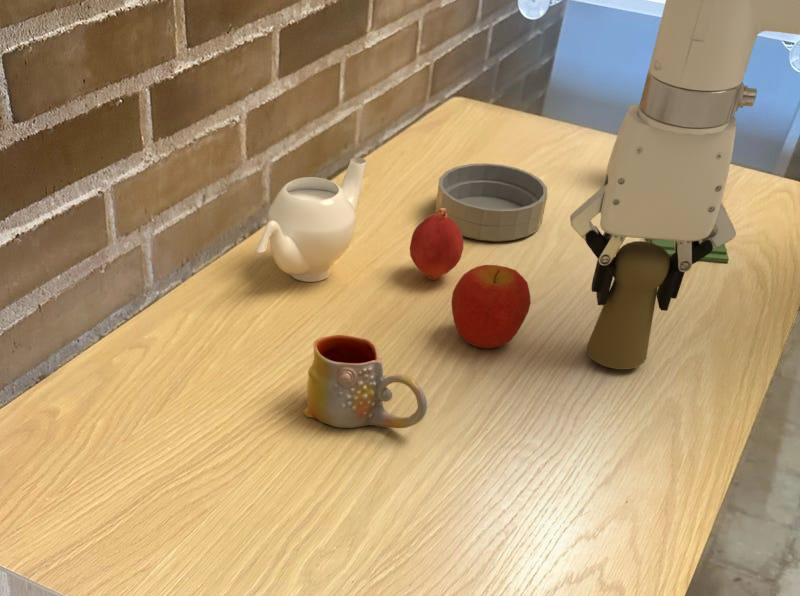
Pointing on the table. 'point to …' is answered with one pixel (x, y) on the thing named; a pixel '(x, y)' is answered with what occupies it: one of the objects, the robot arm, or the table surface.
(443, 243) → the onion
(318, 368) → the mug
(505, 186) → the pan
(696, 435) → the table surface
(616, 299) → the brown tapered knob piece
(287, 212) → the teapot
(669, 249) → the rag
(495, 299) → the apple
